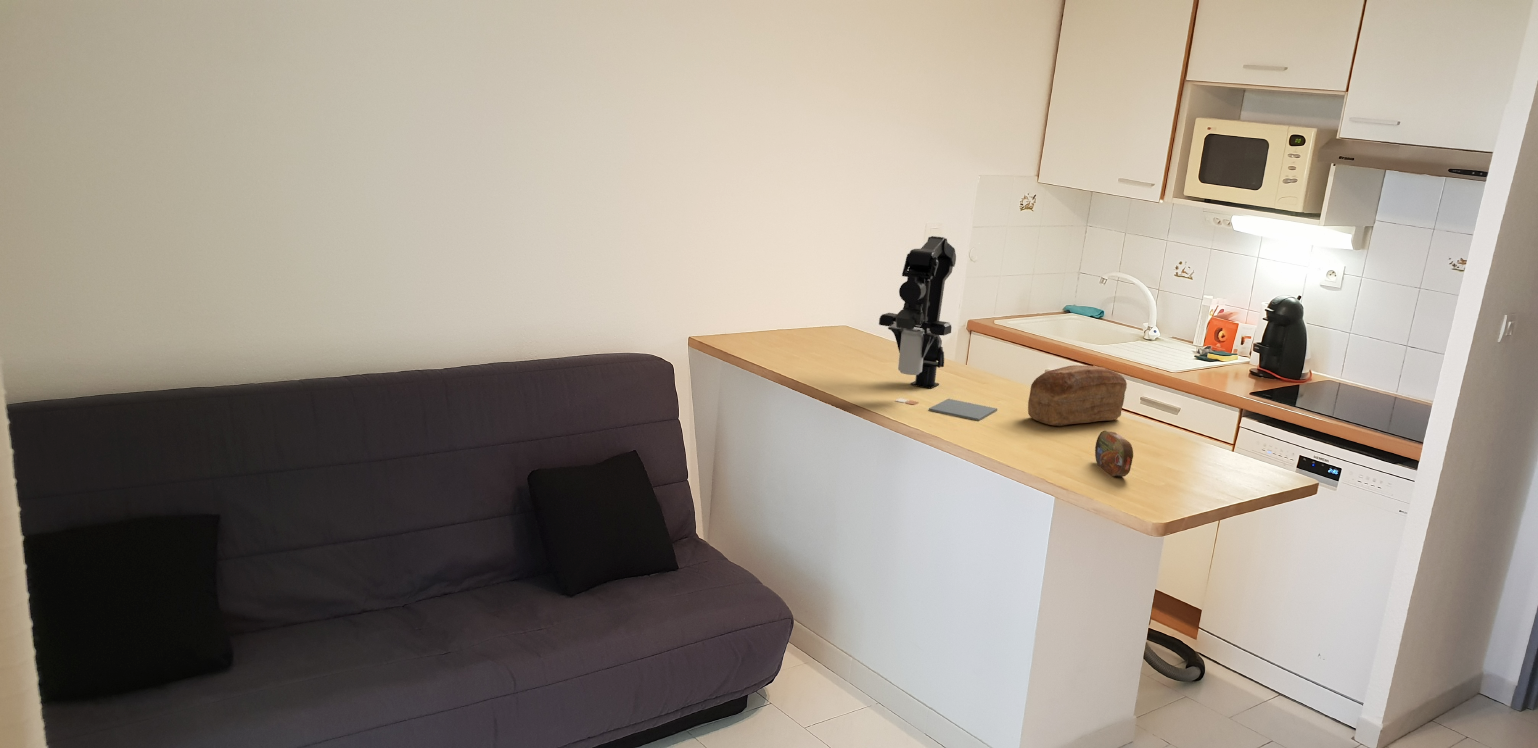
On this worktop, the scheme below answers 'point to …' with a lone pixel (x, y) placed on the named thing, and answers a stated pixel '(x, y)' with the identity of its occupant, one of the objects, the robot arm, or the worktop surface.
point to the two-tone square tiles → (906, 401)
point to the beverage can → (911, 351)
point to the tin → (1113, 453)
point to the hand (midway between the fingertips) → (911, 355)
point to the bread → (1076, 395)
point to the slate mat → (963, 409)
